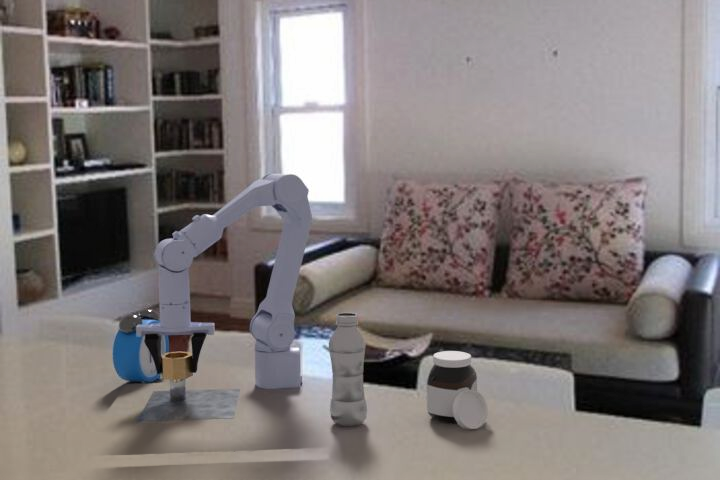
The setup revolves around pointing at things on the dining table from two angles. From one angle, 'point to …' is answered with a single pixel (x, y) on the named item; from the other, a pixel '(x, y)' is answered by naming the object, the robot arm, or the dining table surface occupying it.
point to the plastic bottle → (347, 372)
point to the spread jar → (455, 391)
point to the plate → (190, 403)
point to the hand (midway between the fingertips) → (177, 371)
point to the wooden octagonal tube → (176, 365)
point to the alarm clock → (136, 348)
